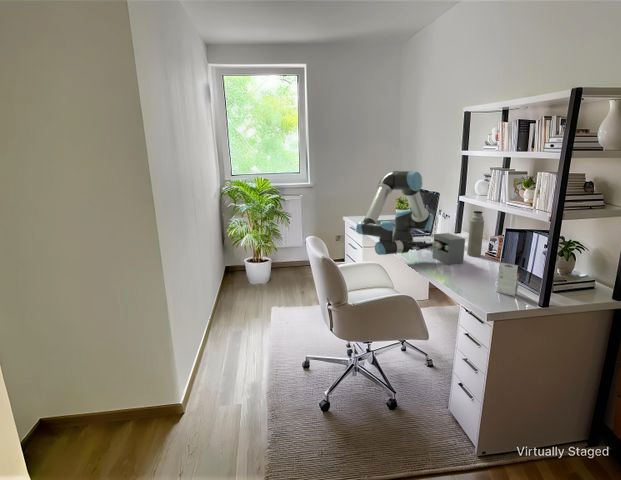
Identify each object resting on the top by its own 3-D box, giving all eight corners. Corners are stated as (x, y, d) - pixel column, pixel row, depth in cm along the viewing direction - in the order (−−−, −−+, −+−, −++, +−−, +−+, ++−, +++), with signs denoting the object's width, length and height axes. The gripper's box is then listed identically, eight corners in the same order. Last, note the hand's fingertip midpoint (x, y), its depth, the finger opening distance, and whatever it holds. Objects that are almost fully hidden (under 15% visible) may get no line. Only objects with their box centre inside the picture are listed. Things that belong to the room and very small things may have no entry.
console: (432, 257, 229) (434, 234, 226) (446, 256, 232) (448, 233, 228) (448, 265, 214) (450, 239, 211) (463, 263, 217) (465, 238, 213)
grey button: (435, 248, 221) (435, 243, 220) (442, 247, 222) (443, 242, 221) (438, 249, 218) (438, 244, 217) (445, 248, 219) (446, 243, 219)
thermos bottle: (466, 253, 239) (470, 210, 233) (479, 253, 237) (484, 210, 231) (467, 256, 232) (472, 212, 225) (481, 257, 230) (486, 212, 223)
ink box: (498, 290, 175) (501, 260, 172) (517, 294, 170) (520, 263, 166) (496, 292, 172) (499, 262, 169) (514, 296, 167) (518, 265, 164)
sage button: (444, 249, 217) (445, 244, 216) (452, 248, 218) (452, 244, 218) (447, 250, 214) (448, 245, 214) (455, 250, 216) (455, 245, 215)
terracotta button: (435, 245, 226) (435, 241, 225) (442, 245, 227) (443, 240, 227) (438, 247, 223) (438, 242, 223) (445, 246, 225) (446, 241, 224)
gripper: (395, 250, 225) (429, 247, 231) (406, 255, 213) (441, 252, 219) (395, 238, 223) (430, 235, 229) (406, 243, 211) (442, 240, 217)
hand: (435, 243), depth 224 cm, fingers closed
